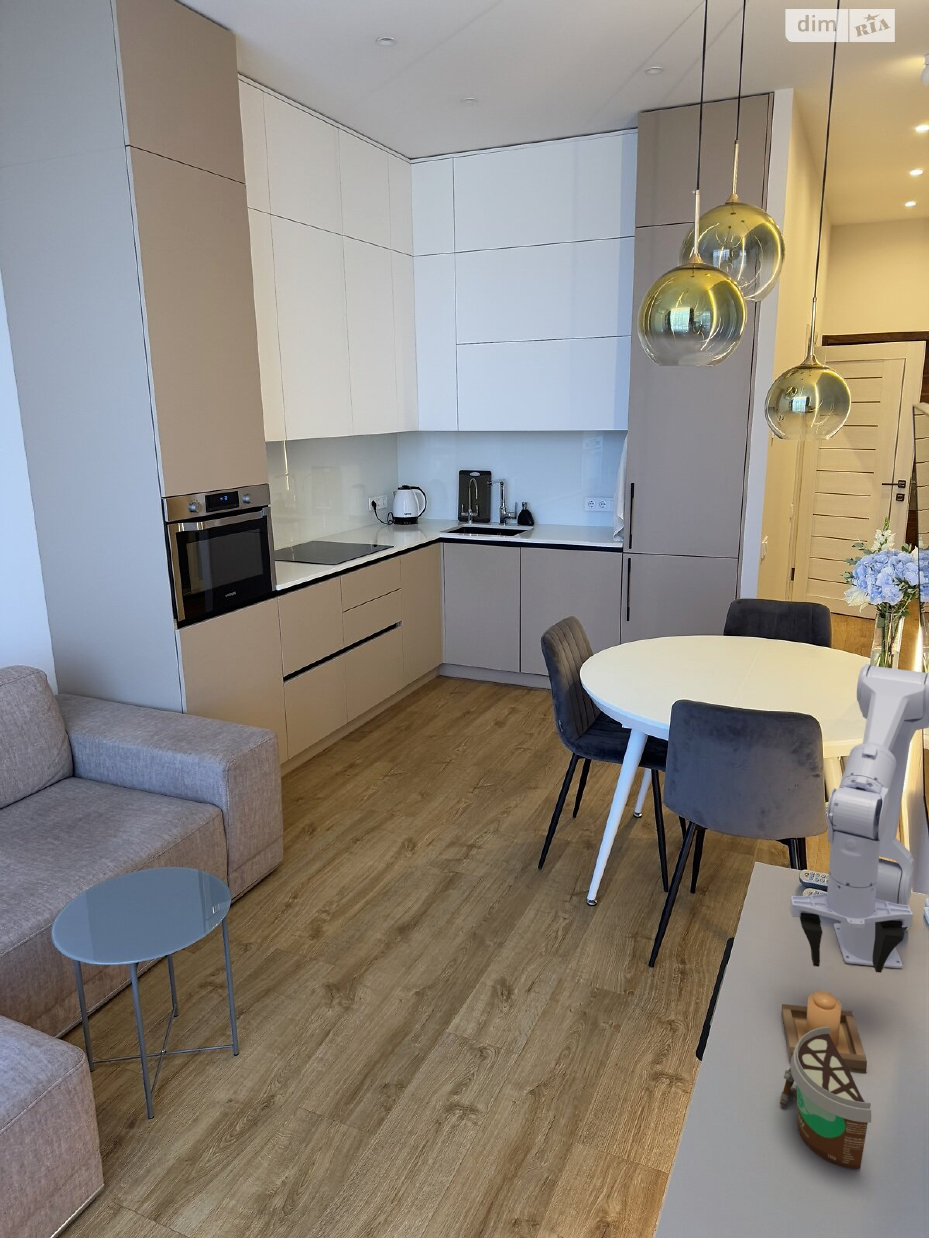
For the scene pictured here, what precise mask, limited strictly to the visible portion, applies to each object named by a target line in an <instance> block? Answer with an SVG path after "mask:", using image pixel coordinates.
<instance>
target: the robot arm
mask: <svg viewBox="0 0 929 1238" xmlns="http://www.w3.org/2000/svg"><path fill="white" fill-rule="evenodd" d="M857 679H858V680H857V686H856V701H857V703H858V706H859V710H860V713H861V714H862V715H861V716H862V717H863V718H864V719H866V723H865V728H864V734H863V741H862V743H859V744H857V745H854V747H853V748H852V749H851V750H850V753H849V755H848V759H847V762H846V764H845V768H844V771H843V774H842V778H841V781H840V784H839V787H838V789H837V788H833V789H832V790H831V793H830V794H829V795H830V796H829V798H828V802H827V807H826V808H827V809H826V826H827V841H828V842H829V844H830V847H829V848H830V849H829V864H828V876H827V877H828V879H827V880H828V881H827V891H826V892H827V893H818V894H812V895H811V894H810V895H803V896H802V895H799V896H798V895H797V896H796V895H790V902H789V903H790V904H789V910H790V915H791V917H792V918H799V920H800V924H801V928H802V930H803V933H804V935H805V937H806V939H807V941H808V943H809V946H810V954H811V955H810V956H811V957H810V958H811V960H812V965H813V967H816V968H817V967H820V964H821V952H820V951H821V941H822V936H823V929H822V928H823V927H822V925H821V922H822V921H821V917H823V918H824V917H825V918H829V919H831V920H836V921H840V923H838V922H836V923H834V924H833V928H834V929H833V930H834V932H835V935H836V938H837V943H838V945H839V948H840V951H841V954H842V957H843V960H844V962H845V963H846V964H852V965H861V966H862V965H863V966H873V967H874V970H875V973H879V974H881V973H882V972H883V969H884V968H892V969H903V965H904V964H903V962H902V959H901V957H900V955H899V952H898V950H897V948H896V947H897V946H898V945H900V943H901V942H903V941H904V937H905V931H904V929H903V927H908V928H912V926H913V916H914V914H913V912H912V909H911V906H910V905H909V903H910V901H911V900H910V899H911V895H912V890H913V889H912V888H913V882H914V864H915V859H914V856H913V853H911V852H910V851H909V850H908V849H907V847H906V846H905V845H904V844H903V843H902V842H901V841H900V840H899V839H898V838H897V835H898V829H899V820H900V813H901V807H902V799H903V792H904V786H905V780H906V773H907V772H906V771H907V765H908V759H909V753H910V745H911V742H912V739H913V737H914V735H915V733H916V731H920V730H924V729H928V728H929V672H922V671H915V670H908V669H907V670H906V669H899V668H891V667H886V666H885V667H884V666H876V665H872V664H868V663H866V664H865V665H864V666H863V667H861V669H860V671H859V675H858V678H857ZM883 858H884V859H883ZM887 859H888V860H887Z"/></svg>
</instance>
